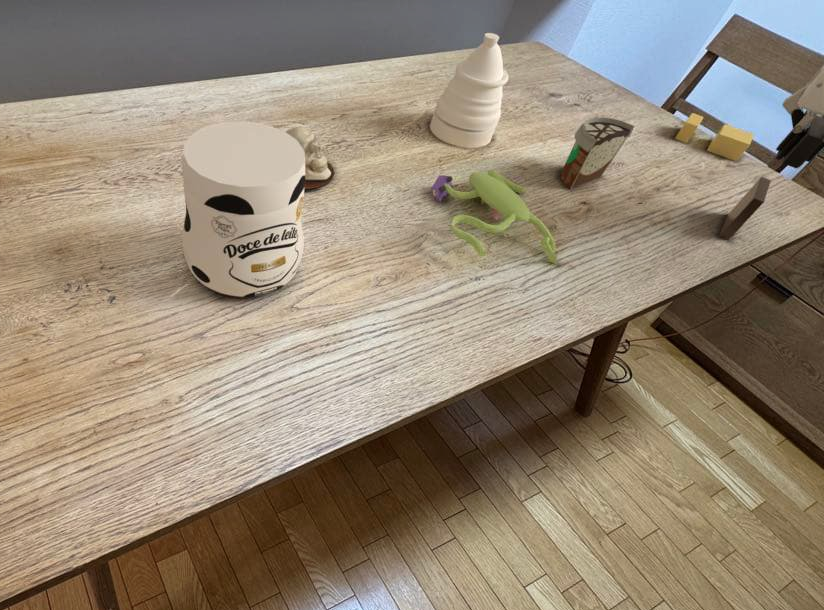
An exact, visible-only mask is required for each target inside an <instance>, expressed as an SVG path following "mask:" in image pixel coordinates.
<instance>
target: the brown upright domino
mask: <svg viewBox="0 0 824 610" xmlns="http://www.w3.org/2000/svg"><path fill="white" fill-rule="evenodd" d="M771 182H772V180H771V179H769V178H766V177H764V176H760V178H759V179H758V180H757V181H756V182H755V183H754V184H753V186H752V187H751V188H750V189H749V190H748V191H747V192H746V193H745V195H743V197H741V199H740V200H739V201H738V203H736V205H735V206H734V207H733V208H732V209H731V210H730V212H729V213H727V215H726V218H725V220H724V223H723V225H722V227H721V231H720V233H719V236H718V237H719V238H721V239H725V240H726V241H729V240H731V238H732V237H733V236H734V235H735V234H736V233H737V232H738V231H739V230H740V229H741V228H742V227H743V225H745V223H747V221H748V220H749V219H750V218H751V217H752V216H753V214H755V212H756V211H757V210H758V209H759V208H760V207H761V206H762V205H763V204H764V203H765V201H766V198H767V193H768V191H769V188H770V186H771V185H770V184H771Z"/></svg>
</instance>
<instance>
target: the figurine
mask: <svg viewBox="0 0 824 610" xmlns="http://www.w3.org/2000/svg"><path fill="white" fill-rule="evenodd" d="M468 179H469V180H468V181H469V183H470V187H471V188H472V189H471V191H458V190H455V189H454V187H453V183H452V182H453V176H451V175H440V174H439V175H438V176H437V178H436V179H435V181H434V183H433V185H432V186H431V191H432V195H433V196H434V197H435V200H436V201H437V202H439V203H443V202H445V201H446V200H447V197H446V196H447V195H450V196H451V197H452V198H455V199H458V200H469V199H470V200H471V199H476V198H478V197H479V198H480V204H481V205H484V204H487V205H488V206H489V207H490V208H491V210H492V218H493V219H494V220H495V221H496V220H497V221H498V220H499V214H501V215H503V216H505V217H506V218H505V219H504V220H503V221H502V222H501V223H498V224H491V223H490V224H489V223H486V222H484V221H482V219H479V218H477V217H474V216H472V215H468V214H458V215H455V216H453V218H452V220H451V233H452V234H453V235H454V236H455V237H456V238H458V239H460V240H462V241H465V242H466V243H468V244H469V245H470V246H472V248H474V250H475V251H476V253H477V255H478V257H479V258H483V257H485V256H486V255H487V253H488V252H487V250H486V249H485V247H484V245H483V244H482V242H481V241H480V240H479V239H478V238H477V237H475V236H474V235H472V234H471V233H469V232H466V231H463V230H461V229H459V228H457V227H455V226H456V224H459V223H463V224H468V225H471V226H473V227H475V228H478V229H479V230H482V231H484V232H486V233H491V234H494V233H495V234H496V233H497V234H498V233H501V232H503V231H505V230H506V229H508V228H509V226H511V224H513V223H514V222H515V221H517V222H529V223H531V224H532V225H533V226H534V227H535V229H536V230H537V231H538V232H539V234H541V236H542V239H541V241H540V246H541V248H542V250H543V251H544V252H545V254H546V256H547V258H548V263H552V264H555V265H556V264H557V262H558V261H557V259H558V258H557V255H556V254H555V252H556V243H555V240H554V237H553V236H552V233H551V232H550V231H549V228H547V226H546V225H545V223H543V222H542V221H541V220H540V219H539V218H538V217H537V216H535V215H534V214H533V213H531V211H530V209H529V207H528V205H527V204H526V202H525V201H524V200H523V199H522V198H521V196H519V194H522V193H524V192H525V191H526V190H527V187H528V186H521V185H518V184H517V183H514V182H513V181H511V180H510V179H508V178H506V177H505V176H503V175H501V174H500V173H498V172H497V171H496V170H494V169H490V170H488V171H487V174H486V173H482V172H477V171H475V172H471V173H470V175H469V177H468ZM517 193H518V194H517Z"/></svg>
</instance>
